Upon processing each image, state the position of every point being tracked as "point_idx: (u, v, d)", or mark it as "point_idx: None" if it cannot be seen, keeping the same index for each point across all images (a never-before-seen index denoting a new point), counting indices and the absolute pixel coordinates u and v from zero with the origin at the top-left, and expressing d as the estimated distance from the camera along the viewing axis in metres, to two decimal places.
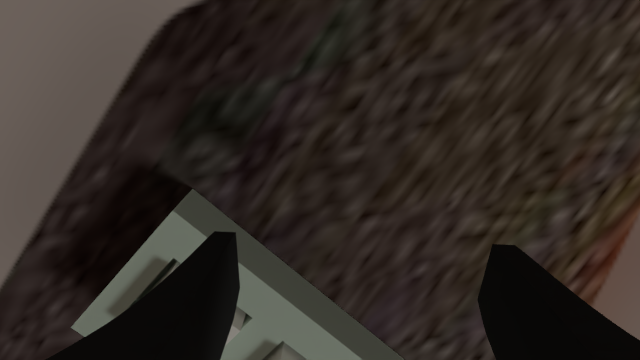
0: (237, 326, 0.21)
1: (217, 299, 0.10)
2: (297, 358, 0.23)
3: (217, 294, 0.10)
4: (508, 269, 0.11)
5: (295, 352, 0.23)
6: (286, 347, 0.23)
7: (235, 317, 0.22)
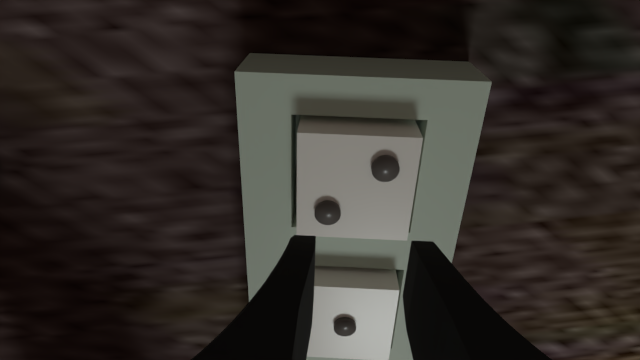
0: (407, 233, 0.17)
1: (307, 304, 0.10)
2: None
3: (308, 298, 0.10)
4: (419, 265, 0.11)
5: None
6: None
7: None
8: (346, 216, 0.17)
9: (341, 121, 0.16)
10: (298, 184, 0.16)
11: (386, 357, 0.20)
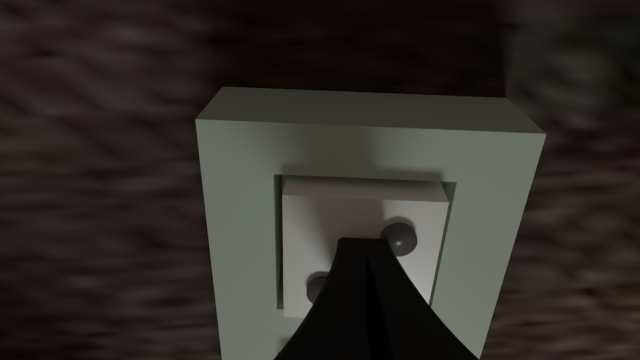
0: None
1: None
2: None
3: None
4: (366, 262, 0.11)
5: None
6: None
7: None
8: None
9: None
10: (285, 257, 0.12)
11: None
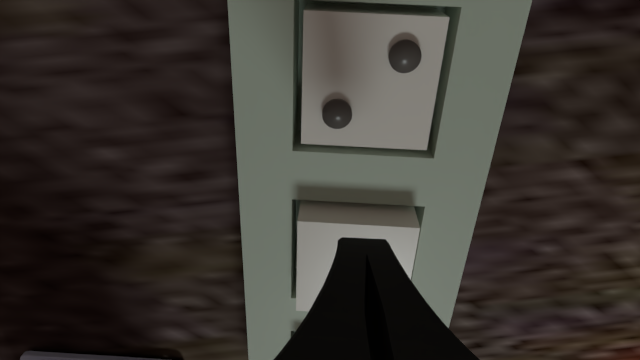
0: (427, 142, 0.15)
1: None
2: None
3: None
4: (366, 262, 0.11)
5: None
6: None
7: None
8: (358, 119, 0.15)
9: (354, 7, 0.14)
10: (304, 78, 0.14)
11: None
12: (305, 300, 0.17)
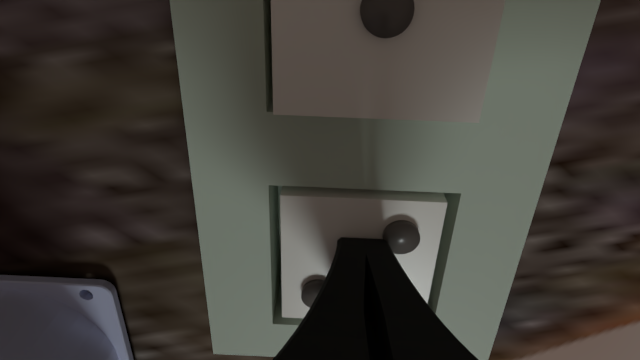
0: None
1: None
2: None
3: None
4: (366, 262, 0.11)
5: None
6: None
7: None
8: None
9: None
10: None
11: (475, 112, 0.09)
12: (290, 87, 0.09)
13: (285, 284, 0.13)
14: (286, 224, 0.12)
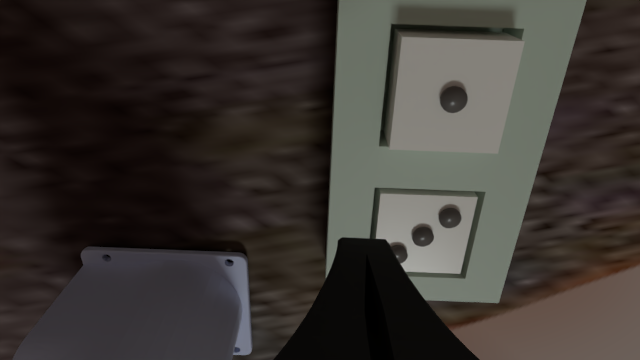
0: None
1: None
2: None
3: None
4: (366, 262, 0.11)
5: None
6: None
7: None
8: None
9: None
10: None
11: (496, 148, 0.17)
12: (400, 135, 0.17)
13: None
14: (382, 210, 0.20)
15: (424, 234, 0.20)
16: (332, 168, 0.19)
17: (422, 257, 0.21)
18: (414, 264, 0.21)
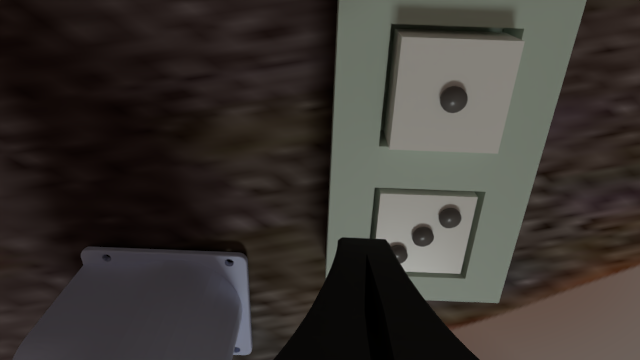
0: None
1: None
2: None
3: None
4: (366, 262, 0.11)
5: None
6: None
7: None
8: None
9: None
10: None
11: (496, 148, 0.17)
12: (400, 135, 0.17)
13: None
14: (382, 210, 0.20)
15: (424, 234, 0.20)
16: (332, 168, 0.19)
17: (422, 257, 0.21)
18: (414, 264, 0.21)
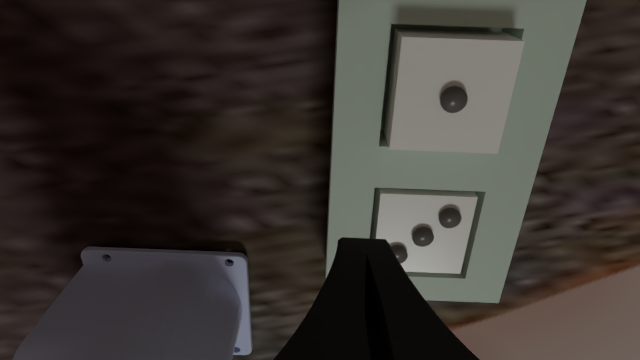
0: None
1: None
2: None
3: None
4: (366, 262, 0.11)
5: None
6: None
7: None
8: None
9: None
10: None
11: (496, 148, 0.17)
12: (400, 135, 0.17)
13: None
14: (382, 210, 0.20)
15: (424, 234, 0.20)
16: (332, 168, 0.19)
17: (422, 257, 0.21)
18: (414, 264, 0.21)
